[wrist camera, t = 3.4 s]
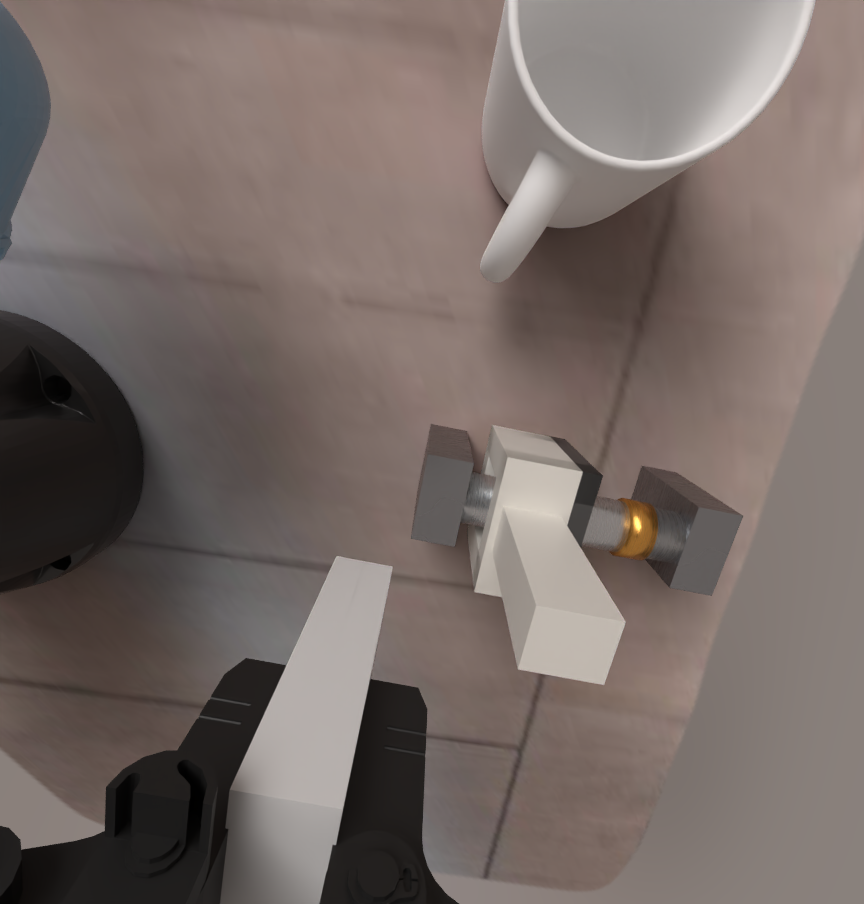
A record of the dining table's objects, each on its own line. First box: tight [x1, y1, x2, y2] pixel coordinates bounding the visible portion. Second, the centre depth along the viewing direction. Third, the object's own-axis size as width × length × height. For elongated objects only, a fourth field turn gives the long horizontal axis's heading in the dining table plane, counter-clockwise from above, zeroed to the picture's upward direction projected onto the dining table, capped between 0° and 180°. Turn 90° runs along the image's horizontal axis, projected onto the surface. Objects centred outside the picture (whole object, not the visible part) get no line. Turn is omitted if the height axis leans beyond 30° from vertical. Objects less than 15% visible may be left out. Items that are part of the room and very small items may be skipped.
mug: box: [480, 0, 816, 283], centre depth 18 cm, size 12×8×10 cm
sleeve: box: [467, 425, 626, 685], centre depth 19 cm, size 4×6×13 cm, turn 169°
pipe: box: [411, 424, 743, 596], centre depth 24 cm, size 14×4×6 cm, turn 79°
